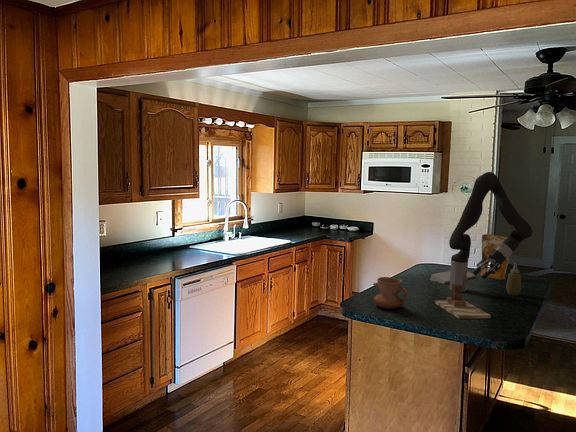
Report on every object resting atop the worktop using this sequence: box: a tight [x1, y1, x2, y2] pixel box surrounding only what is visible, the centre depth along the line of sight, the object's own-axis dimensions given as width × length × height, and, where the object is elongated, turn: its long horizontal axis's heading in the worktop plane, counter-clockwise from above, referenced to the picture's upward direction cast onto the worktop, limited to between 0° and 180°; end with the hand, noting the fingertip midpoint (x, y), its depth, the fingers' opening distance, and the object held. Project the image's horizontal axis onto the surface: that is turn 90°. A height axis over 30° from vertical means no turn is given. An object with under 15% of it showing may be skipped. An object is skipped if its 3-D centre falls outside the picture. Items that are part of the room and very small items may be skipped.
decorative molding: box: [429, 270, 476, 285], centre depth 316 cm, size 34×5×10 cm
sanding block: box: [445, 284, 467, 307], centre depth 251 cm, size 9×6×10 cm, turn 8°
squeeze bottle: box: [505, 262, 522, 296], centre depth 281 cm, size 8×8×18 cm
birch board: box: [434, 299, 492, 320], centre depth 246 cm, size 26×16×2 cm, turn 8°
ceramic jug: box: [372, 276, 409, 310], centre depth 246 cm, size 18×14×14 cm
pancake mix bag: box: [480, 233, 511, 281], centre depth 324 cm, size 7×19×28 cm, turn 47°
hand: (478, 275), depth 252 cm, fingers open, 8 cm apart
